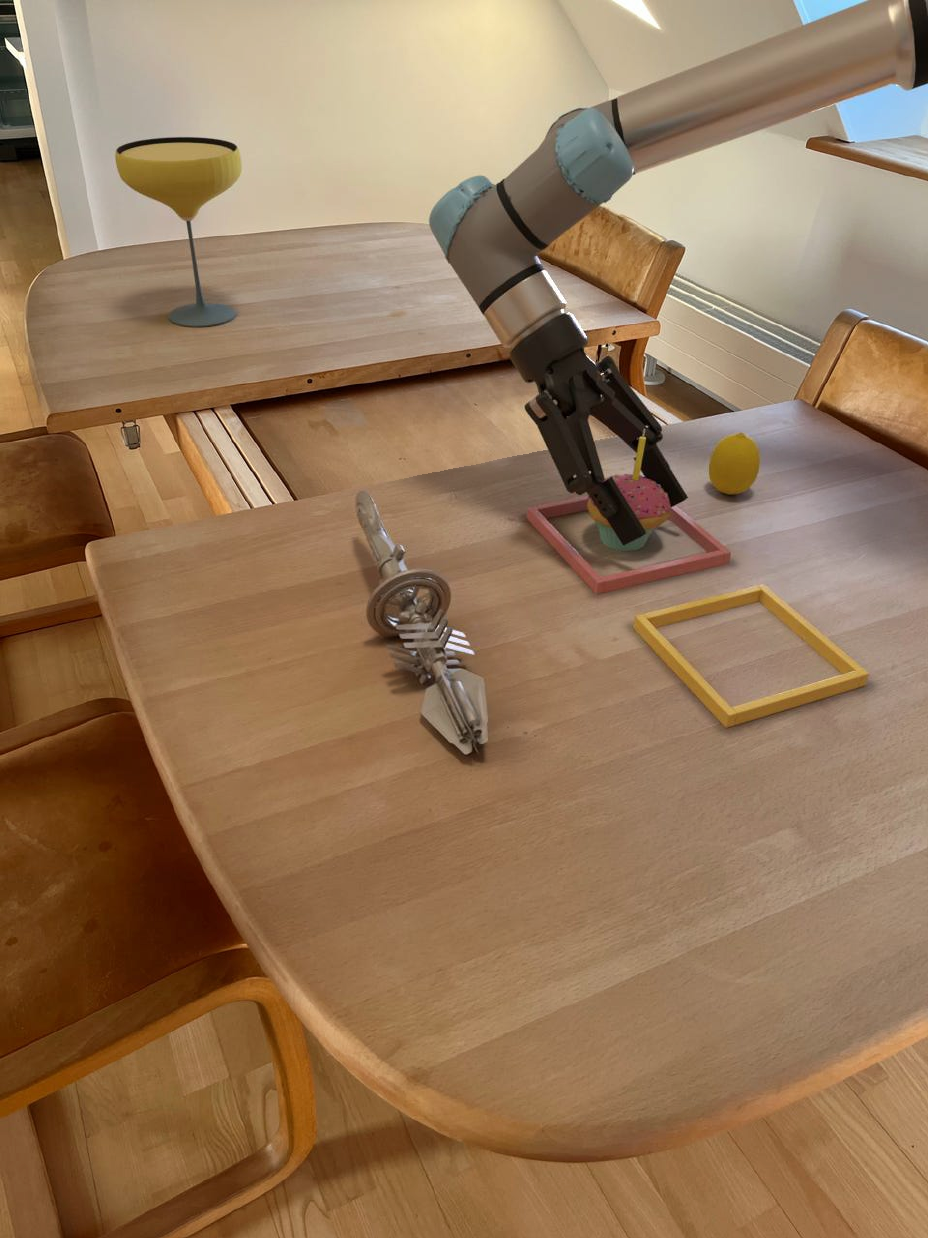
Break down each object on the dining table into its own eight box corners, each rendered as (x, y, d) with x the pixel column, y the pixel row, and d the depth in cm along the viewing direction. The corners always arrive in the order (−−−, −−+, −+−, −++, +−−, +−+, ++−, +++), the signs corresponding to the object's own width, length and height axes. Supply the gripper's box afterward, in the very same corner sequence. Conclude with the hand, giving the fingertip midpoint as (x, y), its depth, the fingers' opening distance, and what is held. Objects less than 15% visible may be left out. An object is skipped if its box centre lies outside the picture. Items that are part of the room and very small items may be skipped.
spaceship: (405, 469, 96) (334, 453, 91) (541, 714, 72) (453, 708, 68) (377, 531, 100) (308, 519, 96) (497, 783, 76) (411, 781, 72)
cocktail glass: (267, 298, 161) (251, 138, 146) (245, 337, 147) (223, 163, 131) (163, 295, 161) (135, 134, 146) (130, 333, 147) (95, 159, 132)
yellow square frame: (759, 600, 92) (763, 583, 91) (863, 691, 82) (869, 673, 80) (631, 632, 87) (634, 615, 86) (724, 733, 77) (729, 715, 76)
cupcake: (596, 513, 104) (609, 412, 97) (671, 530, 102) (690, 428, 94) (573, 551, 98) (585, 446, 90) (653, 570, 95) (672, 464, 88)
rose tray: (647, 498, 108) (649, 483, 107) (727, 568, 97) (731, 552, 96) (526, 523, 103) (527, 507, 102) (595, 599, 92) (598, 582, 90)
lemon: (698, 501, 108) (710, 437, 103) (709, 480, 112) (722, 418, 107) (746, 512, 106) (761, 448, 101) (756, 491, 110) (771, 428, 105)
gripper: (568, 323, 104) (676, 496, 106) (451, 380, 90) (577, 578, 92) (616, 285, 98) (729, 468, 100) (499, 339, 84) (632, 551, 86)
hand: (656, 520), depth 96 cm, fingers closed on cupcake, 8 cm apart
